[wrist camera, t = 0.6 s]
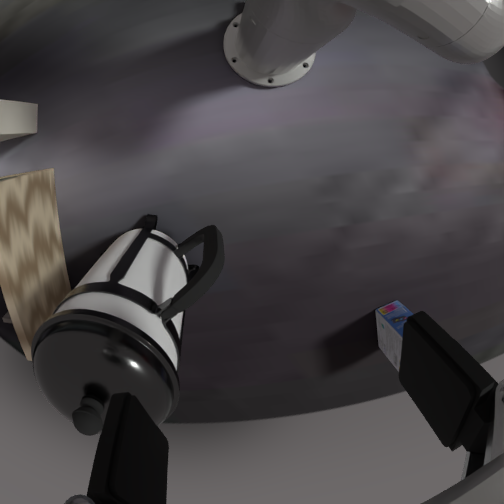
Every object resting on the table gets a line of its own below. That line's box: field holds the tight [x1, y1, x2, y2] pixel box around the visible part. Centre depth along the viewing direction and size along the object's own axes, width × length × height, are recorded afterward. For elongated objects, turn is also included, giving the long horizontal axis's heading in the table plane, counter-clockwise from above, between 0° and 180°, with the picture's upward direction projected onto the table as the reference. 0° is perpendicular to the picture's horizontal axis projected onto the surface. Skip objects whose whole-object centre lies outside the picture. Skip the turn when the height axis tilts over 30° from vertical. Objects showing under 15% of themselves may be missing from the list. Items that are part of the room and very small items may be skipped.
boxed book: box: [0, 99, 38, 142], centre depth 28 cm, size 4×8×10 cm, turn 89°
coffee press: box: [31, 214, 224, 435], centre depth 29 cm, size 17×16×30 cm
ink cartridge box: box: [375, 300, 413, 372], centre depth 47 cm, size 10×6×14 cm, turn 18°
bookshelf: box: [0, 168, 71, 361], centre depth 32 cm, size 22×12×16 cm, turn 179°
